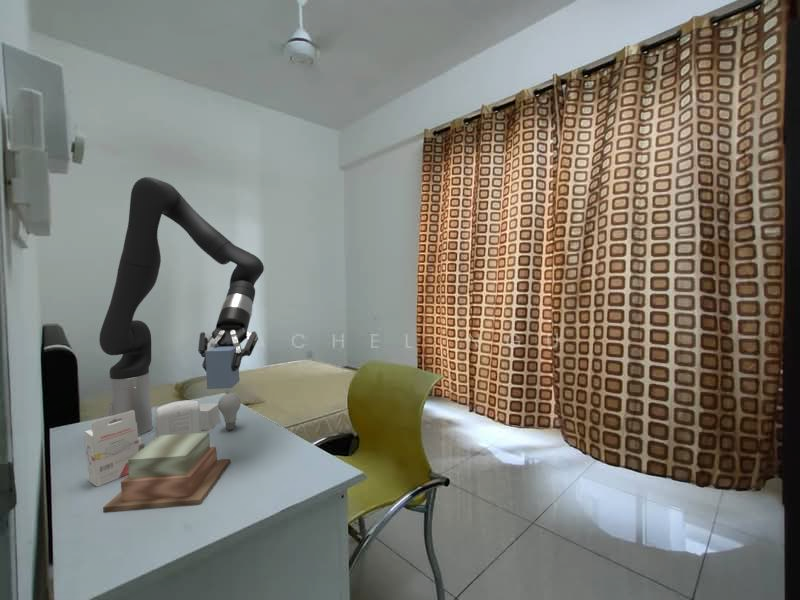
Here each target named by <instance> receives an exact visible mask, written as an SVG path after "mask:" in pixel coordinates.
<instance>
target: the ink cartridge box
mask: <svg viewBox="0 0 800 600" xmlns="http://www.w3.org/2000/svg"><path fill="white" fill-rule="evenodd" d="M113 419H122V421H118V422H115V423H112V424H108V423H109V422H111V421H112V420H113ZM138 437H139V435H138V430H137V422H136V419H135V411H134V410H131V411H128V412H125V413H121V414H117V415H114V416H110V417H109V416H107V417H104V418H101V419H97V420H94V421H92V422H91V429H89V430H85V431H84V442H85V444H84V445H85V453H86V464H87V473H88V474H87V475H88V481H89V482H90V483H91V484H93V486H95V487H101V486H104V485H105V484H108V483H110V482H112V481H115V480H118V479H120V478H122V477H125V476H128V475H129V464H128V459H130V458H131V457H132V456H134V455H135V454H136V453H138V452H139V451H140V450H139V443H138Z"/></svg>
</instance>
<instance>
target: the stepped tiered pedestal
mask: <svg viewBox="0 0 800 600" xmlns="http://www.w3.org/2000/svg"><path fill="white" fill-rule="evenodd" d="M217 453H218V452H217V446H211V443H210V432H208V431H207V432H201V433H191V434H175V435H159V436H158V437H157V436H156V438H155V439H153V440H152V441H150V442H149V443H148V444H147V445H144V446H143V448H142V449H140V450H139V452H138V453H136V454H135V455H134V456H132V457H131V458H130V459H128V464H129V474H128V475H126V477H125V478H124V479H123V480H121V481H120V488H121V489H120V490H121V491H120V492H119V493H117V494H116V495H115V496H114V497H113V498H111V500H109V502H107V503H106V504H105V505H104V506H102V507H103V508H102V509H103V510H102V511H103V513H109V512H110V513H111V512H123V511H124V512H125V511H132V510H133V511H135V510H146V509H148V510H149V509H158V508H160V509H161V508H172V507H181V506H182V507H185V506H196V505H197V506H198V505H201V504H203V502H204V500H205V499H206V497H207V496H208V495H209V494H210V492H211V491H212V489H213V488H214V487H215V485H216V484H217V482H218V480H219V479H221V477H222V475H223V474H224V472H225V471H227V468H228V467H229V465H230V464H231V458H223V459H222V458H221V459H218V454H217ZM220 476H221V477H220ZM215 483H216V484H215ZM210 490H211V491H210Z"/></svg>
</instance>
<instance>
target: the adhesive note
mask: <svg viewBox="0 0 800 600" xmlns="http://www.w3.org/2000/svg"><path fill="white" fill-rule="evenodd" d="M199 407H200V417H201V431H210V430H212V429H213V428H214V427H215V426H216V425H218V424H220V423H221V415H220V413H221V411H220V410H219V407H218V403H200V404H199Z"/></svg>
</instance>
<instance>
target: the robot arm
mask: <svg viewBox="0 0 800 600" xmlns="http://www.w3.org/2000/svg"><path fill="white" fill-rule="evenodd" d="M128 212H129V214H128V223H127V228H126V233H125V236H124V237H125V238H124V243H123V248H122V252H121V255H120V259H119V264H118V267H117V274H116V278H115V284H114V287H113V292H112V294H111V295H112V296H111V299H110V302H109V303H110V304H109V305H108V308H107V311H106V315H105V317H104V320H103V323H102V326H101V329H100V333H99V339H98V341H99V347H100V348H101V350H102V352H103V353H104V354H106V355H109V356H119V355H122V356H121V358H120V359H119V360H118V361H117V362H116V363H115V364H114V365H113V366H111V368H109V381H110V382H109V383H110V396H111V398H110V399H111V403H109V404H108V406H107V407H108V408H107V409H108V410H107V411H108V417H110V416H114V415H117V414H121V413H125V412H128V411H131V410H134V411H135V419H136V422H137V430H138V436H140V435H142V434H145V433H147V432H149V431H150V430H152V429H153V415H152V414H153V412H152V399H151V398H152V397H151V382H150V381H151V380H150V366H151V363H152V334H151V330H150V328H149V326H148V325H147V323H145V322H144V321H142V320H137V319H136V320H135V319H134V316H135V313H136V311H137V309H138V308H139V306H140V305H141V303H142V302H143V301H144V299H145V298H146V297H147V296H148V294H149V293H150V292H151V291H152V289H153V288H154V287H155V285H156V283H157V281H158V277H159V273H160V272H159V271H160V267H161V263H162V261H161V260H162V259H161V249H160V245H159V239H158V233H159V232H158V231H159V230H158V229H159V226H160V222H161V218H162V215H163V216H165V217H166V218H168V219H169V220H172V221H173V223H176V224H177V225H178V226H180V227H181V228H182V229H183V230H184V231H185V232H186V233H187V234H188V236H190V238H191V239H192V240H193V242H194V244H196V245H197V246H198V247H199V248H200V249H201V251H203V252H204V253H205V254H206V255H208V256H209V257H211V258H212V259H213V260H214V261H215V262H216V263H218V264H220V265H223V266H224V265H226V264H229V263H230V262H232V263H234V264H235V265H236V266H235V268H233V269H234V270H233V271H232V273H231V276H230V279H229V288H228V289H227V290H228V291H227V293H226V296H225V300H224V301H223V304H222V306H221V308H220V309H221V310H220V312H219V316H218V319H217V322H216V326H215V329H214V330H212V332H211V333H205V331H204V332H203V331H202V332H200V334H199V340H198V348H197V349H198V353H199V355H200V356H201V357H202V358H204V359H203V362H202V365H201V366H202V368H203V370H204V371H205V372H206V353H205V351H207V350H209V349H211V348H215V347H220V346H234V347H236V349H235V351H236V354H234V358H233V362H232V365H231V368H232V370H233V371H236V370H237V369H239V370H240V367H241V363H242V359H243V358H244V357H245V356H247V357H249V356H251V355H252V354H253V352H254V349H255V346H256V344H257V342H258V340H259V337H258V333H257V332H256V331H251V332H248V329H249V325H250V322H251V318H252V316H253V315H252V314H253V313H252V312H253V304H254V300H255V296H256V288H255V284H256V282H257V281H258V279H259V278H260V277H261V275H262V274H263V273H264V271H265V267H264V263H263V262H262V260H261V258H259V257H258V256H256V255H255V254H253V253H251V252H249V251H247V250H245V249H243V248H241V247H239V246H237V245H235V244H234V243H233V242H232V241H230V240H229V239H228V238H227V237H225V235H223V234H222V233H221V232H220V231H218V230H217V229H216V228H215V227H214V226H212V225H211V224H210V223H209V222H208V221H207V220H205V219H204V218H203V217H202V216H201V215H200V214H199V213H198V212H197V211H196V210H195V209H194V208H193V207H192V206H191V205H190V204H189V203H188V201H187V200H186V199H185V197H183V196H182V194H181V193H180V192H179V191H178V189H176V188H175V187H174V185H172V184H170V183H168V182H165V181H163V180H161V179H158V178H155V177H150V176H145V177H144V176H143V177H141V178H139V179H138V180H137V181H136V182H135V183H134V184H133V186H132V189H131V192H130V200H129V211H128ZM212 339H213V340H212ZM246 339H247V341H246V344H245V345H244V347H243V348H242V345H241V344H242V343H243V341H245V340H246ZM211 340H212V341H211ZM209 343H210V345H209ZM208 345H209V346H208ZM118 421H122V419H113V420H112V421H111V422H108V423H109V424H112V423H115V422H118Z"/></svg>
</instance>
